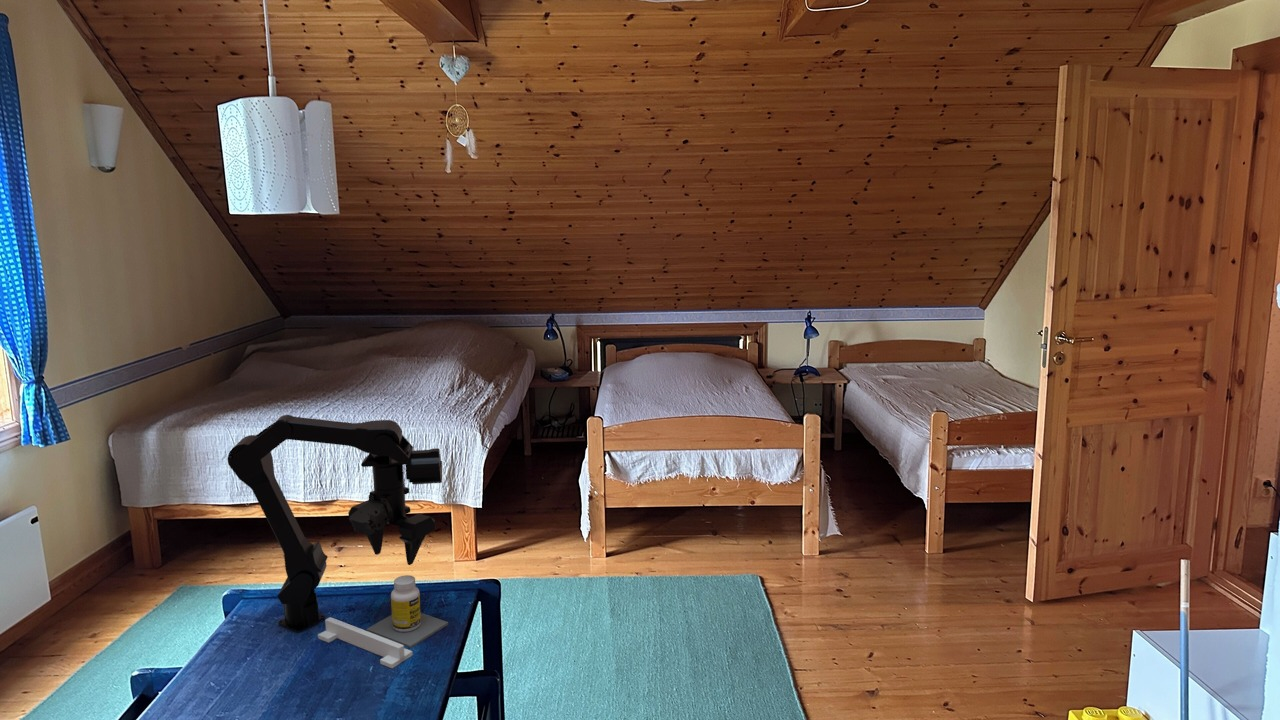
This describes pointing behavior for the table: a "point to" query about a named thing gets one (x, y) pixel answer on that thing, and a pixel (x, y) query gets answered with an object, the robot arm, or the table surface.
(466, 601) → the table surface
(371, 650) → the white barrier
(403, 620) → the supplement bottle
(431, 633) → the slate mat
